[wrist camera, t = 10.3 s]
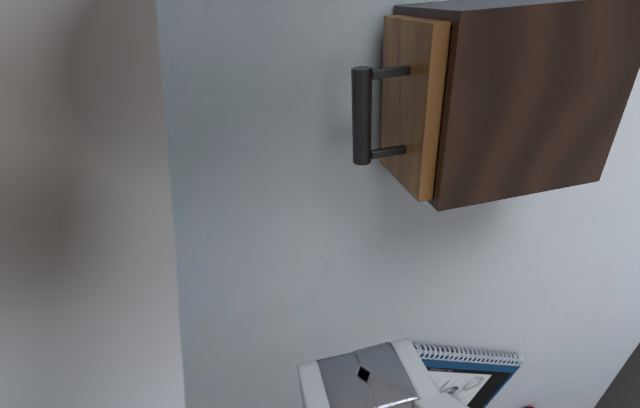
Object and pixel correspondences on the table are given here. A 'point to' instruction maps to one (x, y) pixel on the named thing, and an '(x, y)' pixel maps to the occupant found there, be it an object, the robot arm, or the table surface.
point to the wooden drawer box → (530, 93)
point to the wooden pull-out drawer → (405, 101)
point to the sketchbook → (469, 372)
